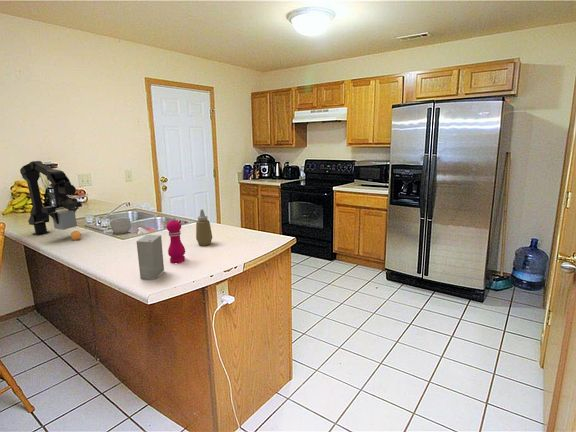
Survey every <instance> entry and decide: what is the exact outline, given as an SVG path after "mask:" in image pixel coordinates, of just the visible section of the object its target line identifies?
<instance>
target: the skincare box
mask: <svg viewBox="0 0 576 432" xmlns="http://www.w3.org/2000/svg"><path fill="white" fill-rule="evenodd" d="M162 241H163V240H162V235H161V234H145V235H144V236H142V237H141V238H139V239H138V240H136V249H137V258H138V268H139V276H140V277H139V278H140V280H141V279H142V280H157V278H158V277H160V275H161V274H163V273H164V272H165V267H164V266H165V265H164V255H163V254H164V253H163V242H162Z"/></svg>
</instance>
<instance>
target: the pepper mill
mask: <svg viewBox="0 0 576 432" xmlns="http://www.w3.org/2000/svg"><path fill="white" fill-rule="evenodd" d="M181 228H182V223H181V222H180V220H179V221H178V220H176V218H175V216H172V217H171V218H170V221H168V222H167V224H166V230H167V231H168V236H169V239H170V242H169V246H168V249H167V255H168V256H169V257H170V258H169V262H170V263H171V264H173V263H174V264H175V263H177V264H182V263H184V262H185V261H186V257H185V254H186V248H185V246H184V245H183V243H182V241H181V234H182V233H181ZM174 264H173V265H174ZM175 265H176V264H175Z"/></svg>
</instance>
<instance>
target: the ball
mask: <svg viewBox="0 0 576 432" xmlns="http://www.w3.org/2000/svg"><path fill="white" fill-rule="evenodd" d="M81 238H82V232H80V231H79V230H73V231H72V232H71V233H70V239H72V240H74V241H78V240H80V239H81Z"/></svg>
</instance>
